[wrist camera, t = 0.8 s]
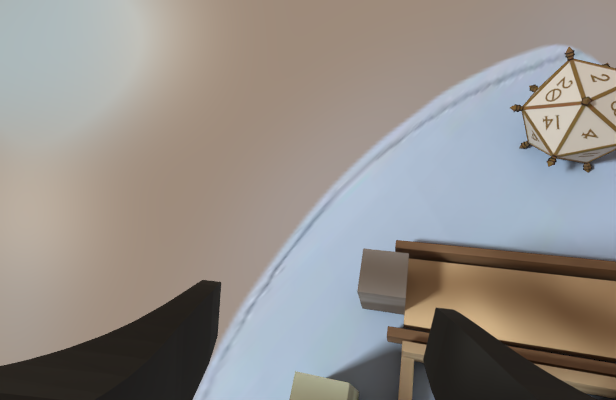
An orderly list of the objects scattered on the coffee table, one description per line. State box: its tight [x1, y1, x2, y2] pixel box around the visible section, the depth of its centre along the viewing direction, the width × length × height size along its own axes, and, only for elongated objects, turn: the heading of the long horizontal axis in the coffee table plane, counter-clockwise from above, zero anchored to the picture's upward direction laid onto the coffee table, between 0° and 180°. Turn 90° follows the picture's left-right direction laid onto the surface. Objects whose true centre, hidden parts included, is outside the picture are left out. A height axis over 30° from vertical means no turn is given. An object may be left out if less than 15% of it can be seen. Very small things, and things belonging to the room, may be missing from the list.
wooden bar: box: [357, 249, 616, 362], centre depth 23 cm, size 5×17×4 cm, turn 78°
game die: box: [510, 47, 616, 172], centre depth 27 cm, size 9×8×10 cm
